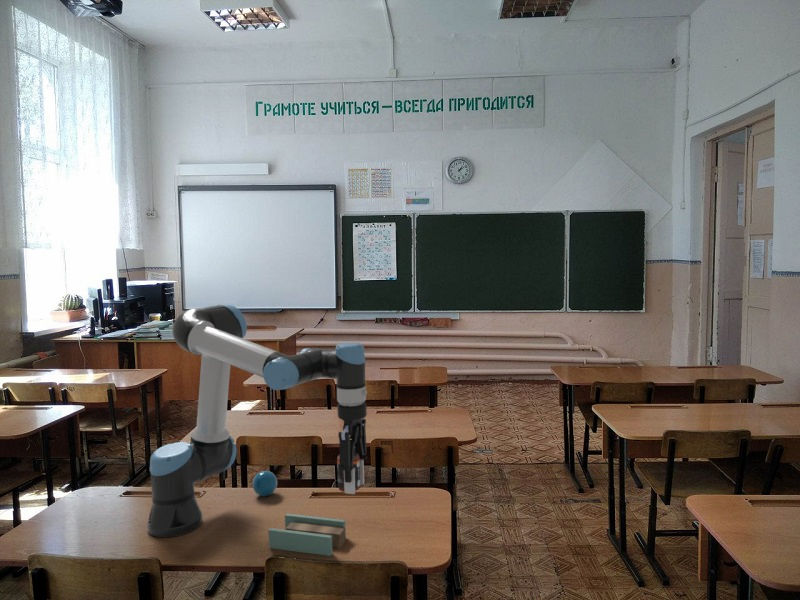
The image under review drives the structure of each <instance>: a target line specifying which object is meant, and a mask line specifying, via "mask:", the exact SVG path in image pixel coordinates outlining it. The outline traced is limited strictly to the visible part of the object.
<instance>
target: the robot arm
mask: <svg viewBox="0 0 800 600" xmlns="http://www.w3.org/2000/svg"><path fill="white" fill-rule="evenodd" d="M242 313H243V312H242V311H241V310H240V309H239V308H238V307H236V306H234V305H232V304H218V305H212V306H205V307H194V308H190V309H187V310H185V311H183V312H181V313H180V314H179V315H178V316H177V318H176V319H175V320H174V322H173V325H172V336H173V339H174V341H175V343H176V344H177V345H178V347H180V348H181V349H182V350H184V351H187V352H188V353H190V354H194V355H196V356H201V359H200V362H201V363H200V372H199V373H200V375H199V376H200V377H199V388H198V389H199V392H198V400H197V401H198V403H197V415H196V416H197V417H196V428H194V429H193V430H192V431H191V433H190V440H189V441H190V442H187V441H177V442H176V441H175V442H174V443H168V444H166V445H165V444H164V445H163V446H161V447H158V448H157V449H155V450H154V451H153V453H152V454H151V456H150V459H149V472H150V486H151V497H152V498H151V499H152V500H151V501H152V504H151V507H150V508H151V509H150V512H149V516H148V519H147V532H148V533H147V534H149V535H151V536H153V537H156V538H173V537H177V536H181V535H182V536H183V535H186V534H188V533H191V532H193V531H194V530H196V529H198V528H199V527H200V526H201V525H202V524H203V512H202V510H201V509H200V506H199V504H198V502H197V498H196V495H195V484H196V483H200V482H201V481H203V480H205V479H208V478H211V477H212V476H216V475H219V474H222V472H224V471H227V469H229V468H231V466H232V465H233V463H234V462H235V460H236V458H237V446H236V444H235V440H234V438H233V437H232V436H231V433H230V431H229V430H228V429H227V428H226V425H227V424H226V423H227V413H228V411H227V410H228V403H229V402H228V401H229V400H228V399H229V390H230V389H229V387H230V386H229V385H230V374H231V366H233V367H235V368H238V369H241V370H243V371H246V372H248V373H250V374H253V375H256V376H258V377H260V378H263V380H264V383H265V384H266V385H267V386H268V387H269V388H270V389H272V390H274V391H281V390H288V389H291V388H292V387H295V386H299V385H301V384H304V383H308V382H311V381H313V380H318V379H321V378H323V379H324V378H325V379H333V380H335V379H336V402H338V404H337V417H338V419H340V420H342V421H343V425H342V431H339V432H338V439H339V441H338V442H339V455H340V470H344V492H343V493H344V494H349V495H355V494H356V491H355V469H353V460H354V447H355V449H356V453H357V454H358V455H359V459H360V483H361V484H360V485H364V484H365V466H364V465H365V464H364V462H365V461H364V460H367V459H368V455H367V453H368V451H367V432H366V423H367V422H366V421H367V419H366V417H367V415H368V414H367V413H368V412H367V403H366V402H365V401H366V400H367V394H368V390H366V389H367V388H366V387H367V386H366V357H365V354H366V353H365V347H364V345H363V344H362V343H359V342H343V343H338V344H336V346H335V350H334V349H326V348H317V347H312V348H311V347H310V348H309V347H308V348H306V347H305V348H303V349H302V350H301V351H299V353H297V354H292V355H288V354H284V353H282V352H279V351H277V350H274V349H272V348H269V347H266V346H264V345H260V344H259V343H255V342H252V341H250V340H247V339H245V336H246V334H247V331H248V327H247V321H246V317H245V316H244V315H243V314H242Z"/></svg>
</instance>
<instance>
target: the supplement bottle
mask: <svg viewBox="0 0 800 600" xmlns="http://www.w3.org/2000/svg"><path fill="white" fill-rule="evenodd" d="M336 459H337V460H336V462H337V463H336V465H337V467H336V468H337V486H338V490H339V491H341V492H343V493H345V492H344V470H340V454H338V456H337V458H336ZM353 469H355V492H356V491H358V490H359V489H360V488H361V485H362V484H361V483H360V459H359V455H358V454H357V453H356V449H355V447H354V460H353Z"/></svg>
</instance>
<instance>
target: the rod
mask: <svg viewBox="0 0 800 600" xmlns="http://www.w3.org/2000/svg"><path fill="white" fill-rule="evenodd" d="M345 528H346V527H345ZM345 528H343V527H334V526H325V525H315V524H306V523H296V522H291V523H290V524H289V525H288V526H287V527H286V528H285V529H284V530H291V531H299V532H307V533H315V534H323V535H331V536H332V548H339V549H340V548H341V547H342V546H343V545H344V544H345V542H346V538H345Z"/></svg>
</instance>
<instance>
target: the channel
mask: <svg viewBox="0 0 800 600" xmlns="http://www.w3.org/2000/svg"><path fill="white" fill-rule="evenodd" d="M291 522H296V523H306V524H315V525H325V526H334V527H343V528H345V539H346V537H347V536H346V535H347V533H346V532H347V531H346V520H345V519H341V518H340V519H338V518H329V517H321V516H311V515H303V514H294V513H286V514H285V515H284V527H285V528H286V527H287V526H288V525H289V524H290V523H291ZM268 544H269V545H268V548H269V549H274V550H283V551H289V552H298V553H305V554H311V555H312V554H313V555H319V556H327V557H331V556H332V555H333V554H334V553H333V547H332V536H331V535H323V534H315V533H307V532H299V531H291V530H285V529H281V528H273V527H270V528H269V529H268Z"/></svg>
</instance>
